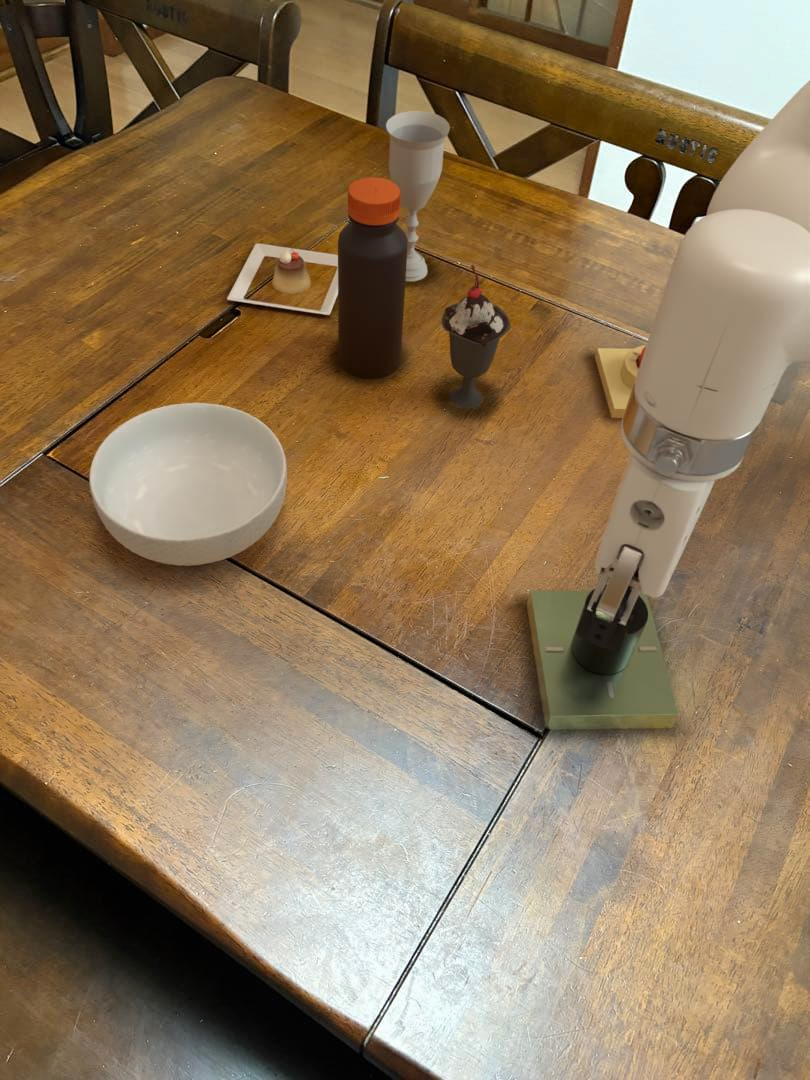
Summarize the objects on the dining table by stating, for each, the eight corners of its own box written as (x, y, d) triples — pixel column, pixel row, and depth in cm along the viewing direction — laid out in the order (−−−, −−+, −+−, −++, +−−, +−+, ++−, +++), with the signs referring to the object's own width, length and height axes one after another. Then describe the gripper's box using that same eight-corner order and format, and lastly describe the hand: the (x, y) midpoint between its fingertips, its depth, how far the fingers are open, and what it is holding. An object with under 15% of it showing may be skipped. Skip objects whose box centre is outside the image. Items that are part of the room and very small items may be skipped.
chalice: (426, 296, 108) (438, 148, 94) (372, 283, 109) (376, 134, 95) (444, 264, 112) (458, 118, 99) (392, 251, 114) (399, 106, 100)
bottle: (380, 390, 97) (387, 217, 81) (326, 368, 98) (323, 195, 83) (411, 356, 100) (424, 185, 85) (359, 335, 102) (361, 164, 87)
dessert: (352, 265, 111) (352, 229, 108) (329, 323, 104) (329, 286, 100) (256, 250, 112) (253, 215, 109) (227, 307, 105) (223, 271, 101)
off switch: (681, 361, 102) (690, 336, 100) (704, 422, 96) (714, 396, 93) (593, 360, 102) (600, 334, 99) (610, 421, 95) (618, 395, 93)
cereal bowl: (297, 583, 79) (294, 530, 74) (100, 603, 77) (81, 549, 72) (282, 448, 90) (278, 393, 85) (108, 461, 88) (93, 405, 82)
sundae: (456, 371, 99) (470, 248, 88) (508, 397, 97) (530, 274, 86) (421, 403, 96) (432, 279, 84) (475, 430, 93) (493, 307, 82)
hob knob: (567, 624, 75) (581, 581, 71) (624, 624, 75) (642, 581, 71) (576, 675, 72) (591, 633, 67) (636, 674, 72) (655, 632, 68)
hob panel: (638, 607, 80) (646, 589, 78) (670, 731, 72) (679, 714, 70) (525, 607, 79) (530, 589, 77) (544, 732, 71) (550, 715, 69)
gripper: (711, 539, 49) (630, 705, 61) (781, 364, 59) (700, 537, 72) (579, 486, 51) (528, 657, 63) (670, 326, 61) (610, 501, 74)
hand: (619, 594), depth 68 cm, fingers open, 9 cm apart
